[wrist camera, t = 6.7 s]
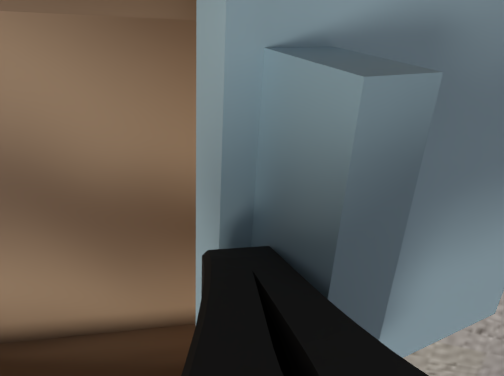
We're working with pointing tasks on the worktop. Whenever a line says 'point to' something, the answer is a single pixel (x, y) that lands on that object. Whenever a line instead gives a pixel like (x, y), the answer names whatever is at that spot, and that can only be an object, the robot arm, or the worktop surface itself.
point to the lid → (359, 153)
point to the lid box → (97, 187)
